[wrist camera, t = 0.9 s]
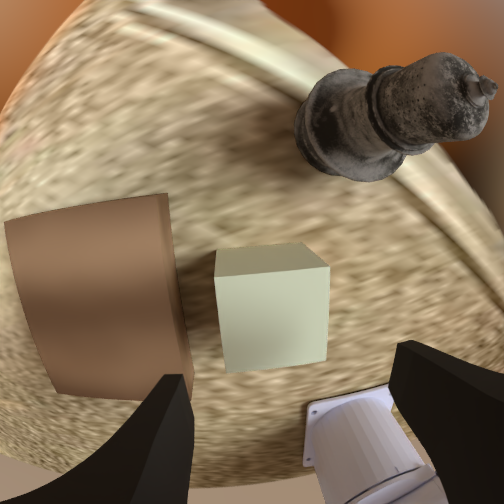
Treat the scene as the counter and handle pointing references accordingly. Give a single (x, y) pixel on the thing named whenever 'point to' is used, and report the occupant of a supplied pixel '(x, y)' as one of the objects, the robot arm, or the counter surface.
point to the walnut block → (102, 296)
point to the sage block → (272, 306)
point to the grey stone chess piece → (390, 115)
